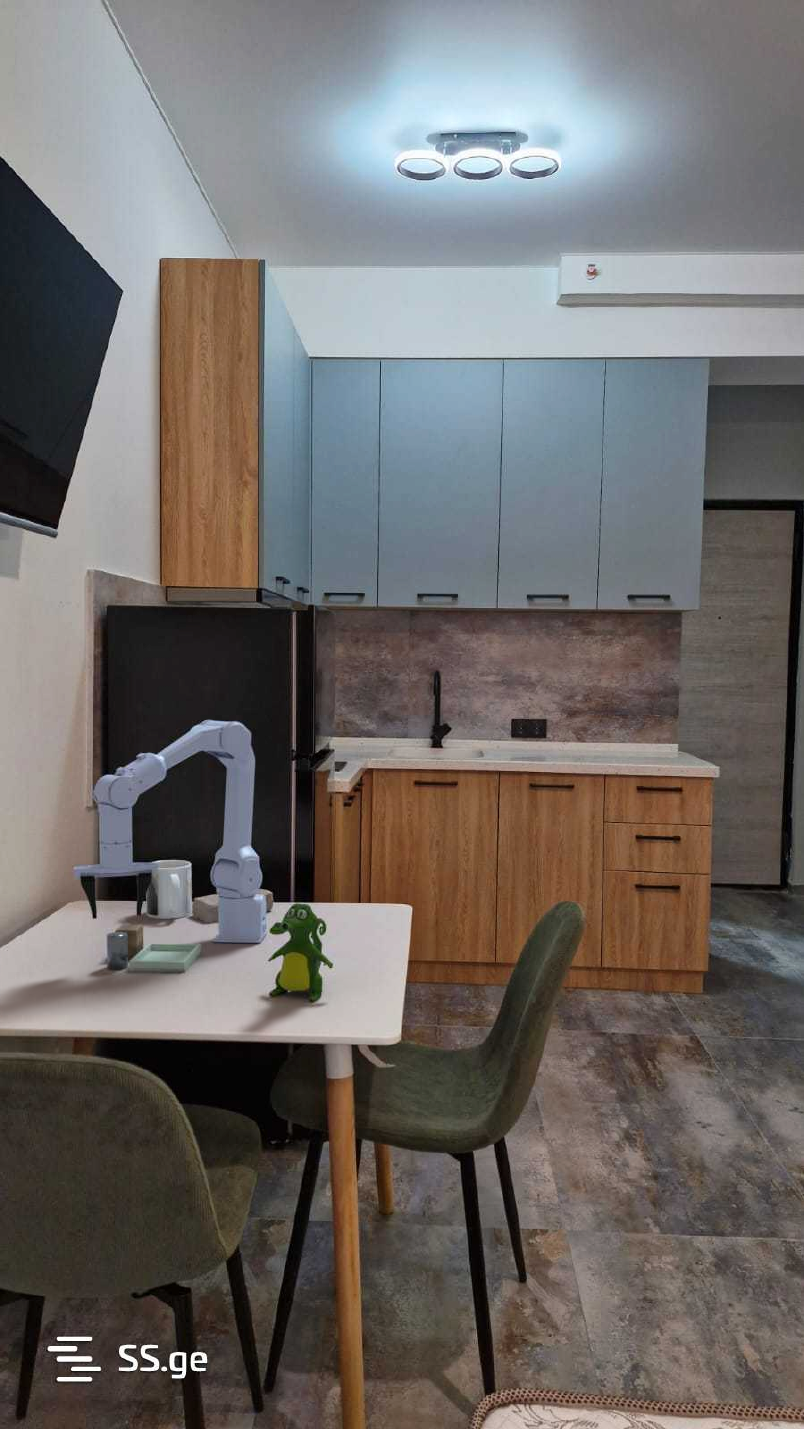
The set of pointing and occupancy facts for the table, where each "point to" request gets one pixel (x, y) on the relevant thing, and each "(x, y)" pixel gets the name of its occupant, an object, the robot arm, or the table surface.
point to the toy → (300, 952)
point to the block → (133, 938)
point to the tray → (165, 957)
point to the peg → (117, 951)
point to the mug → (170, 890)
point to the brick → (208, 906)
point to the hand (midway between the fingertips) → (116, 915)
